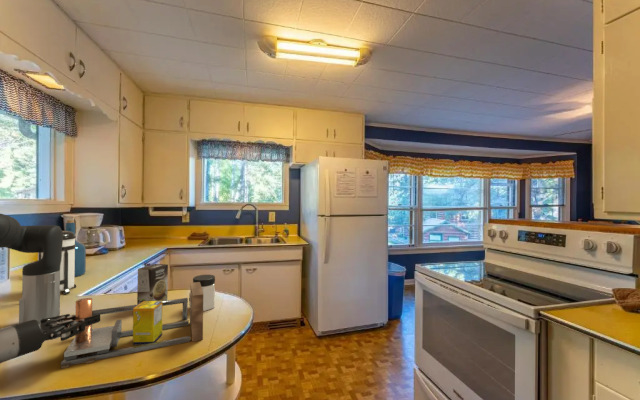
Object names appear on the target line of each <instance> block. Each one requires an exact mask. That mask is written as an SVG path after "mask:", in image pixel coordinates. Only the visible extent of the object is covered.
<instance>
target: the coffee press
mask: <svg viewBox="0 0 640 400" xmlns="http://www.w3.org/2000/svg"><path fill="white" fill-rule="evenodd" d="M58 226H59V227H60V228H61V226H60V225H58ZM62 233H63V243H62V258H61V264H60V293H61V292H62V293H63V295H64V296H66V295H69V294H70V291H71V290H70V289H76V287H77V285H76V283H75V279H76V278H75V240H76V238H77V236H76V234H75V235H74V233H73V232H70V231H66V230H62ZM42 257H43V252H42V253H37V261H39V260H40V259H42Z"/></svg>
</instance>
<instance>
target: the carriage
mask: <svg viewBox="0 0 640 400" xmlns="http://www.w3.org/2000/svg"><path fill="white" fill-rule="evenodd" d="M92 311H93V297H92V298H91V297H85V298H80V299H77V300H76V301H75V315H76V319H75V320H79V319H82V318H86V317H89V316H92ZM75 324H76V323H75ZM78 327H79V326H78ZM121 332H122V319H117V320H116V321H115V323H114V325H110V326H109V325H108V326H104V327H97V328H93V324H92V325H89V326H86V327H85V331H83V332H81V333H79V334H77V335H75V336H74V338H73V339H72V341H71V342H70V344H69V345H68V347H67V348H66V350H64V352H63V360H64V361H65V360H70V359H76V358H77V357H79V355H85V354H91V352H96V351H97V354H102V353H107V352H108V351H110V348H116V347H118V344H119V341H120V339H121V337H120V336H121Z"/></svg>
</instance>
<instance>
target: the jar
mask: <svg viewBox="0 0 640 400" xmlns="http://www.w3.org/2000/svg"><path fill="white" fill-rule="evenodd" d="M194 282H200V284H201V288H202V291H203V312H206V311H209V310H213V309H214V308H215V299H216V297H215V296H216V295H215V294H216V290H215V285H216V284H215V283H216V276H215V275H214V274H200V275H196V276H193V278H192V283H194Z"/></svg>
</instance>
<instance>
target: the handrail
mask: <svg viewBox="0 0 640 400" xmlns="http://www.w3.org/2000/svg"><path fill="white" fill-rule="evenodd" d="M188 302H189V297H184V298H175V299H167V301H162V307H164V306H171V305H172V306H173V305H179V304H182V318H181V319H182V321H188V309H189V308H188V307H189V306H188ZM138 305H139V304H137V303H136V304H132V305H124V306H116V307H109V308H102V309H92V312H93V315H96V314H99V315H100V316H102V315H108V314H116V313H124V312H130V311H133V308H135V307H136V306H138Z"/></svg>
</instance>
